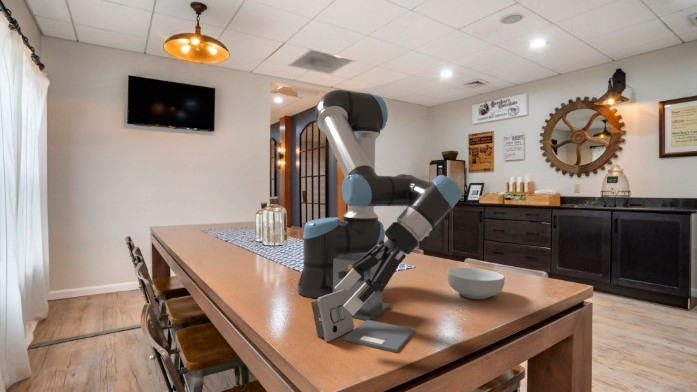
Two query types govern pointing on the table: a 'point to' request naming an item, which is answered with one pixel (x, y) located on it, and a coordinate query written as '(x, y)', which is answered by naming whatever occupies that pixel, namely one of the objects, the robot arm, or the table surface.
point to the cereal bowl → (475, 282)
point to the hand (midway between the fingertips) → (342, 300)
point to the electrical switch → (332, 315)
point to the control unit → (374, 303)
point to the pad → (380, 335)
